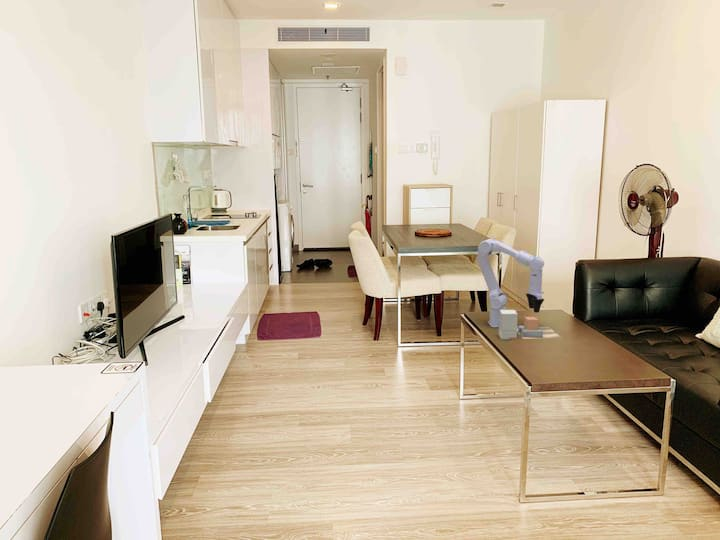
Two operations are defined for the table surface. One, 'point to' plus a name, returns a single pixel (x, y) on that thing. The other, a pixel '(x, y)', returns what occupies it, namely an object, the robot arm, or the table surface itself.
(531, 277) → the robot arm
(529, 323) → the block
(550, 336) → the base board
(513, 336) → the supplement box
